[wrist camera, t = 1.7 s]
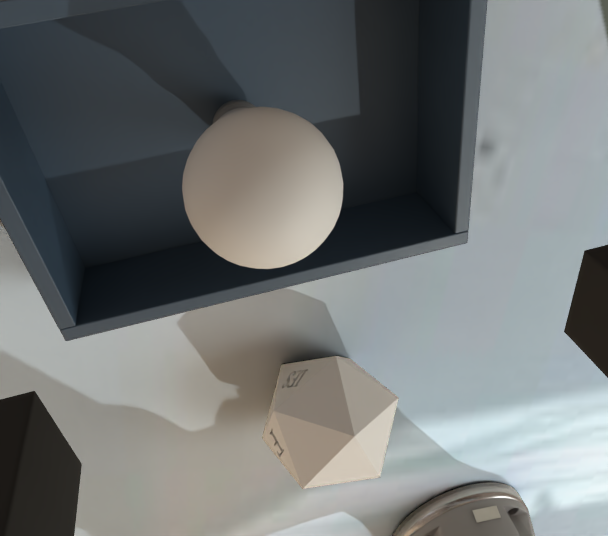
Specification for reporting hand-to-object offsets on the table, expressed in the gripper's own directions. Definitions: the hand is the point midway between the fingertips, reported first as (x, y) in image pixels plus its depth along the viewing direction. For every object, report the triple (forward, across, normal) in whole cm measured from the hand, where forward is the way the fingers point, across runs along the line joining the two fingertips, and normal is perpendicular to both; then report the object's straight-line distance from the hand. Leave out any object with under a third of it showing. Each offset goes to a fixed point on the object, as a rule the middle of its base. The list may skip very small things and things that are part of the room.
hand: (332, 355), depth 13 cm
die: (+18, -2, +21) cm, 28 cm away
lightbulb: (+18, 0, 0) cm, 18 cm away
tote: (+18, 0, 0) cm, 18 cm away
